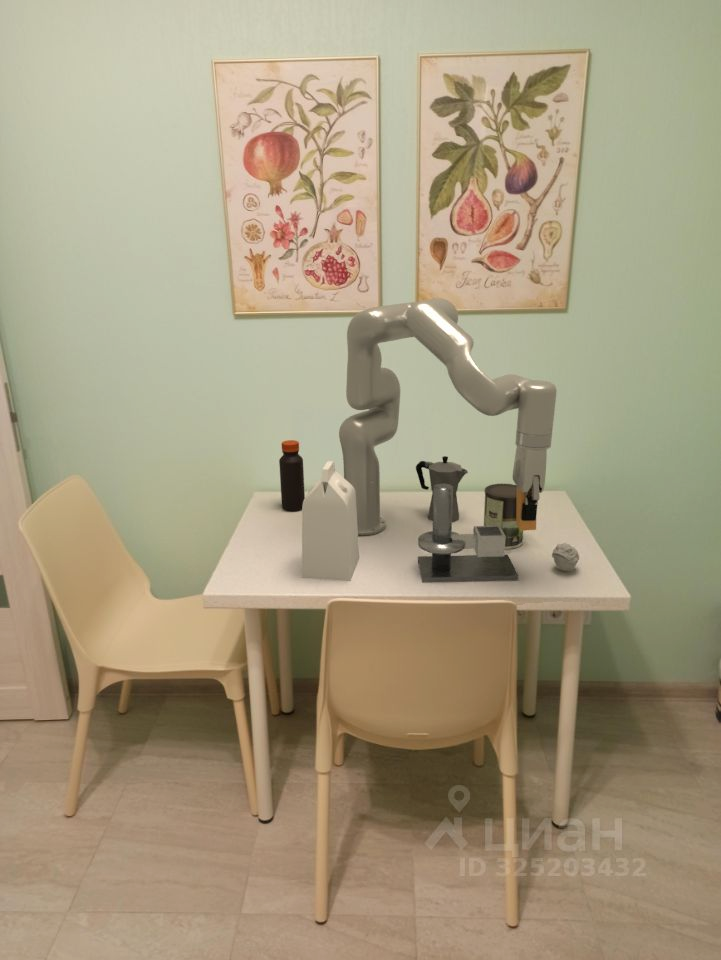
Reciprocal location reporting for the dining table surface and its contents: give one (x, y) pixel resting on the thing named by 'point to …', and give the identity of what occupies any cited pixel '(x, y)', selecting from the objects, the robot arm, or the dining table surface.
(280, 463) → the vinegar
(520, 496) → the orange rectangular block
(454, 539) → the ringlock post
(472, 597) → the dining table surface
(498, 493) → the coffee can
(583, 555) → the dining table surface
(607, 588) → the dining table surface
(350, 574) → the milk
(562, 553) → the plaster head sculpture
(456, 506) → the coffeepot
